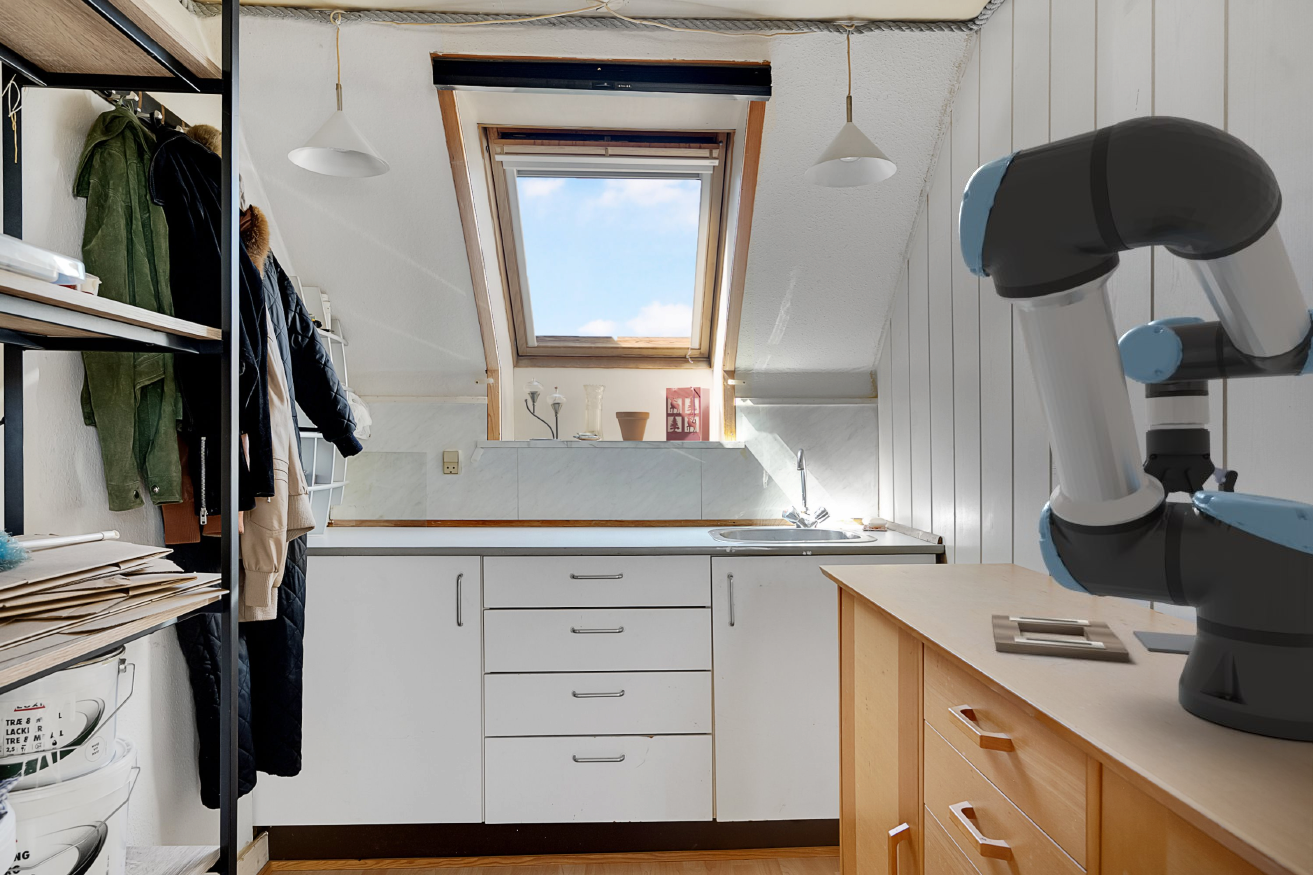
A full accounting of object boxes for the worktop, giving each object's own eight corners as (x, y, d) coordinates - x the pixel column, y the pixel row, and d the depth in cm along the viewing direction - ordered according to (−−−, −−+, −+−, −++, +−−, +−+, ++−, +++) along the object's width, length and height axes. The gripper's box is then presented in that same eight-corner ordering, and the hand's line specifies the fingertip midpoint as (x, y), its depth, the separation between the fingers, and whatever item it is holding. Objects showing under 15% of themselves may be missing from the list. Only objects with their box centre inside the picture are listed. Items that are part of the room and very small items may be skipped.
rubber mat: (1235, 657, 100) (1235, 654, 100) (1148, 650, 104) (1148, 647, 104) (1212, 639, 109) (1212, 636, 109) (1133, 633, 113) (1133, 630, 113)
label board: (1128, 661, 99) (1128, 650, 99) (996, 650, 105) (995, 639, 105) (1105, 629, 115) (1105, 620, 115) (991, 621, 121) (991, 612, 121)
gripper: (1248, 426, 107) (1252, 588, 106) (1097, 429, 114) (1100, 581, 114) (1268, 425, 100) (1272, 599, 99) (1105, 428, 107) (1109, 590, 107)
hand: (1180, 589), depth 107 cm, fingers closed on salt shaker, 6 cm apart
